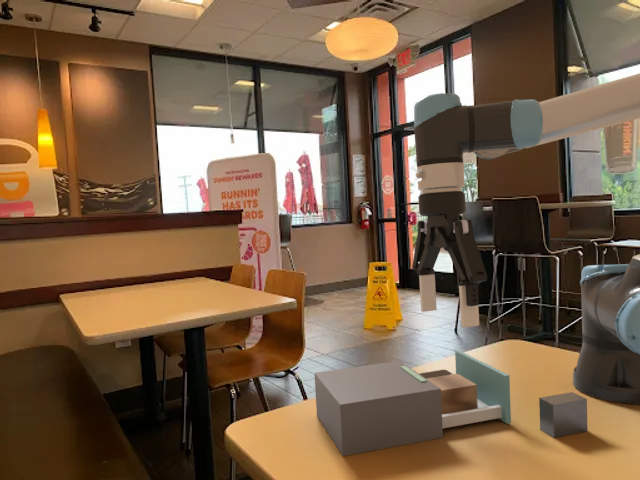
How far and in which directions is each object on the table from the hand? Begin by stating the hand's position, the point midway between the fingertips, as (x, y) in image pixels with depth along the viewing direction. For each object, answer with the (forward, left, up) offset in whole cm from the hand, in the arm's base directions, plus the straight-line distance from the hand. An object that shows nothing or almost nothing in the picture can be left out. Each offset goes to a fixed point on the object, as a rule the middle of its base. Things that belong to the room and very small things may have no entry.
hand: (447, 318), depth 82 cm
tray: (+2, 0, -16) cm, 16 cm away
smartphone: (-1, -15, -17) cm, 23 cm away
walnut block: (0, 0, -15) cm, 15 cm away
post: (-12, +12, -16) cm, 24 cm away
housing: (+15, 0, -16) cm, 22 cm away
